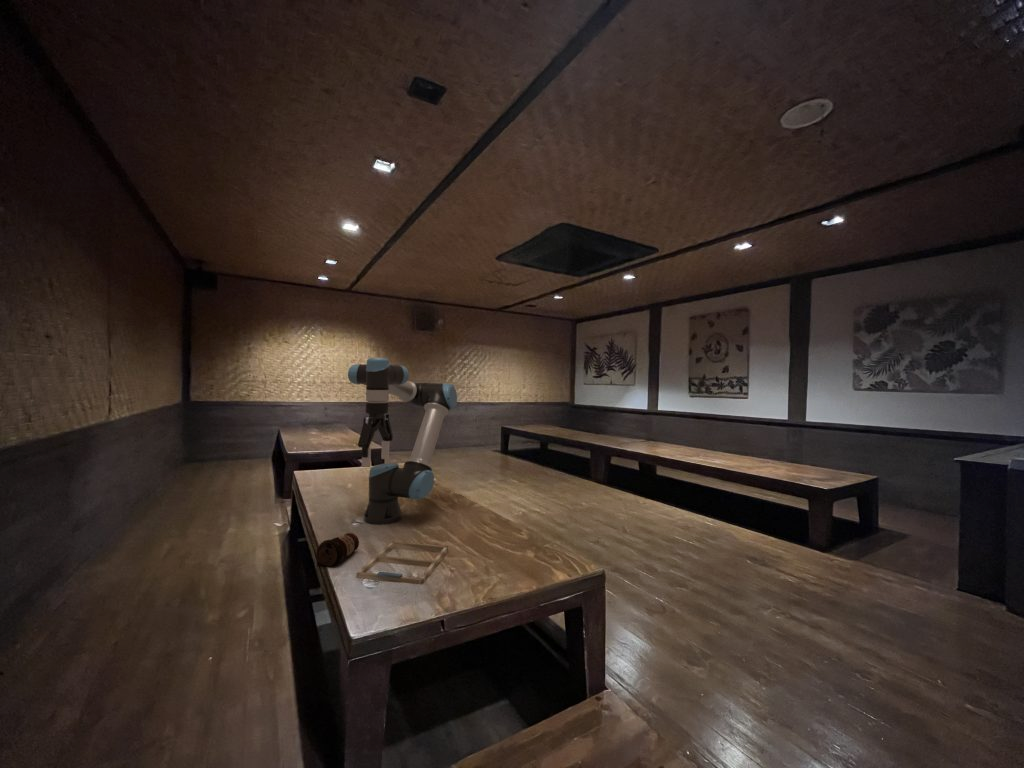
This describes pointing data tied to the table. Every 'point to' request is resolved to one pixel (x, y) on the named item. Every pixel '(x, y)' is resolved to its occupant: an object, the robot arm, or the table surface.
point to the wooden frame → (403, 562)
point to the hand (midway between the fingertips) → (376, 462)
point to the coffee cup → (337, 549)
